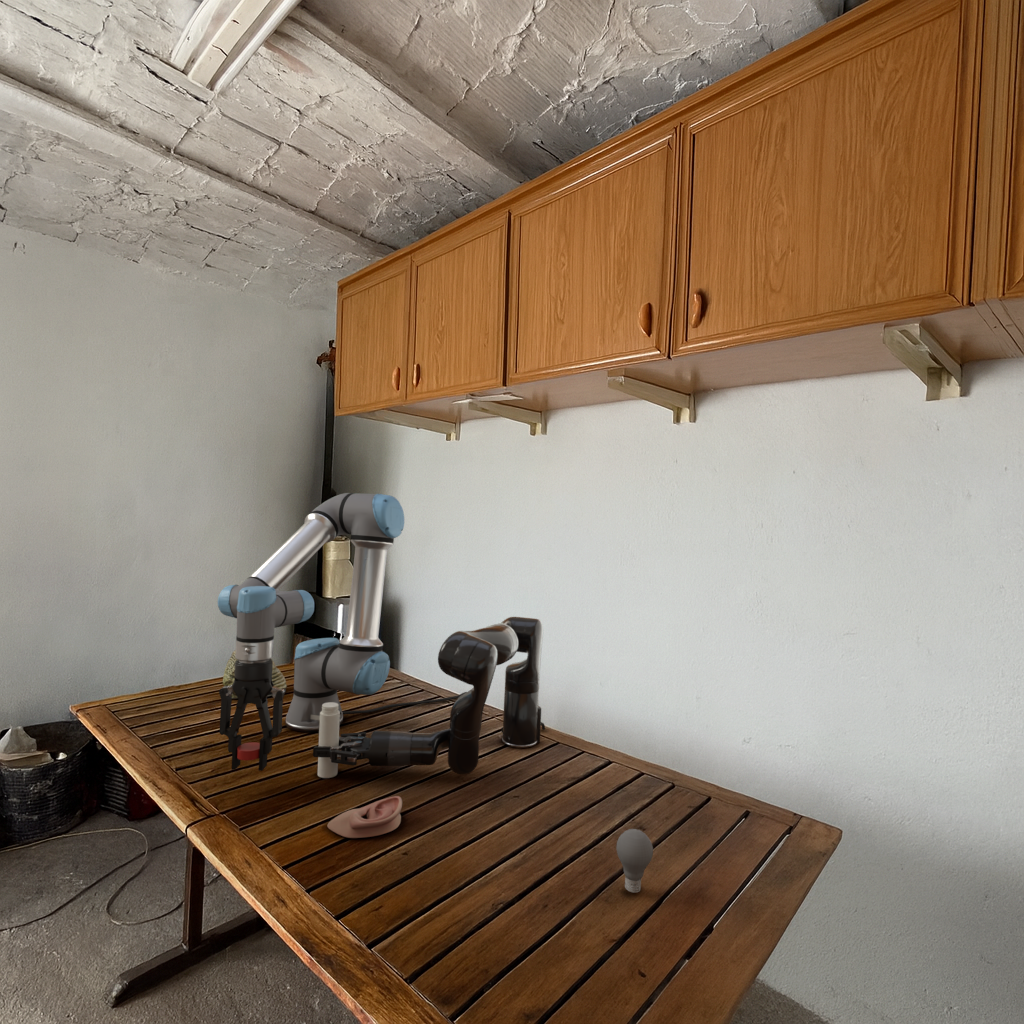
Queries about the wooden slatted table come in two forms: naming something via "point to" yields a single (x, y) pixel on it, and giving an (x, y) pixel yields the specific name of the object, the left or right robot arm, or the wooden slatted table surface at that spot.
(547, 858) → the wooden slatted table surface
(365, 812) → the anatomical model
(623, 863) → the light bulb
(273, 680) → the fossil
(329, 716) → the white bottle
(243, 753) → the lid
